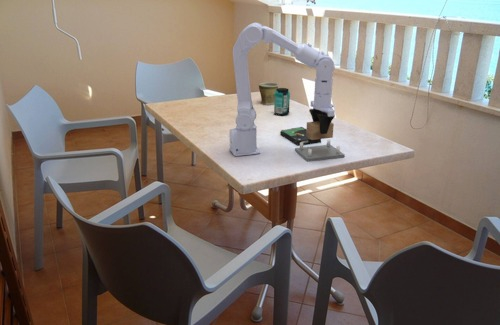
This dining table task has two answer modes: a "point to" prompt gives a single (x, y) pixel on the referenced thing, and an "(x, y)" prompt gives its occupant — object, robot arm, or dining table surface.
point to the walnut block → (318, 131)
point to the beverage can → (282, 102)
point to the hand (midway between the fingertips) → (320, 131)
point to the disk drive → (298, 136)
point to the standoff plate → (319, 152)
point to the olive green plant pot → (268, 93)
